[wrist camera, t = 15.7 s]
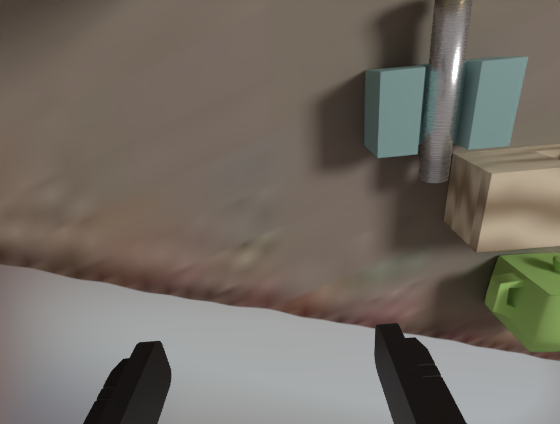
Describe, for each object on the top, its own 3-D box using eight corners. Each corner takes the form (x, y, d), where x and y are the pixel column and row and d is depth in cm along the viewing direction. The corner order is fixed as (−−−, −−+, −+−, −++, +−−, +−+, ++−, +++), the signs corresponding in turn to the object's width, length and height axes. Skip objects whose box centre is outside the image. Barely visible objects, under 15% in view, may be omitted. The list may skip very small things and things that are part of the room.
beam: (453, 153, 37) (492, 173, 31) (628, 137, 37) (707, 154, 30) (443, 221, 41) (476, 252, 34) (602, 207, 41) (667, 236, 34)
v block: (365, 70, 34) (380, 71, 29) (490, 57, 33) (528, 56, 28) (364, 145, 37) (377, 158, 32) (477, 134, 37) (509, 145, 32)
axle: (420, -13, 29) (452, -24, 25) (457, -15, 30) (494, -27, 26) (405, 176, 36) (429, 187, 33) (436, 170, 37) (462, 180, 34)
